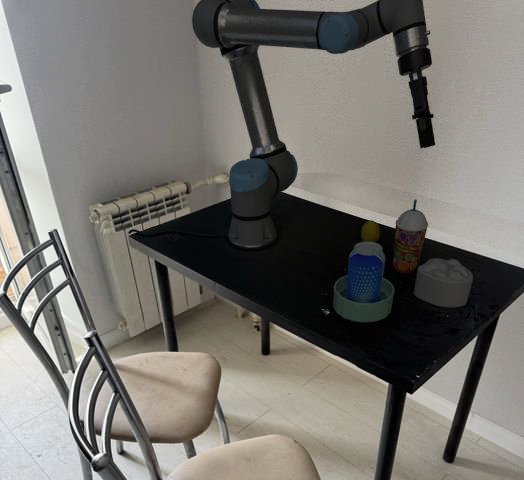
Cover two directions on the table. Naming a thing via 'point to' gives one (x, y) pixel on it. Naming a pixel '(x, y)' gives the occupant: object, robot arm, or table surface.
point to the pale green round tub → (362, 310)
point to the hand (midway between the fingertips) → (428, 147)
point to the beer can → (365, 273)
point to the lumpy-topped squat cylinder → (443, 283)
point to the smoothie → (409, 240)
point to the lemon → (370, 231)
